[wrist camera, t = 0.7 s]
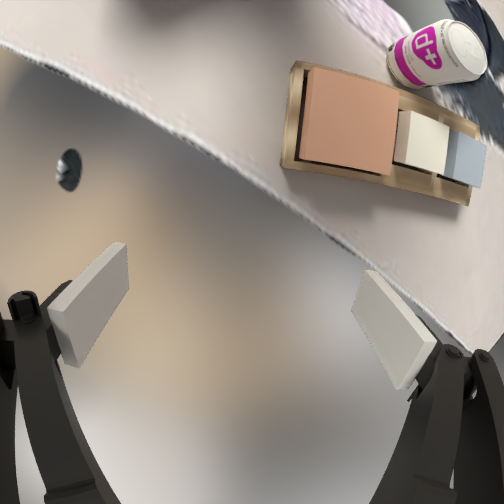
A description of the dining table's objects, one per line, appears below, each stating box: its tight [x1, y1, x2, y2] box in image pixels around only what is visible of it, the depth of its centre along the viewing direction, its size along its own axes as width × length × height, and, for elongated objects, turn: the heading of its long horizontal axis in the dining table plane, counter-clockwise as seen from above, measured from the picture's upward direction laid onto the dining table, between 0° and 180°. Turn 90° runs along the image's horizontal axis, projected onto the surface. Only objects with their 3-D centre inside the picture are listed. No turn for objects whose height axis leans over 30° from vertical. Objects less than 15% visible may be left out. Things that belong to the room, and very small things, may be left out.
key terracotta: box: [299, 67, 399, 176], centre depth 29 cm, size 11×11×4 cm
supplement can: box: [386, 19, 487, 89], centre depth 23 cm, size 8×8×15 cm
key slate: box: [443, 130, 486, 188], centre depth 31 cm, size 7×7×4 cm
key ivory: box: [394, 111, 449, 175], centre depth 30 cm, size 7×7×4 cm
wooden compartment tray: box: [280, 61, 480, 206], centre depth 33 cm, size 14×32×4 cm, turn 84°
